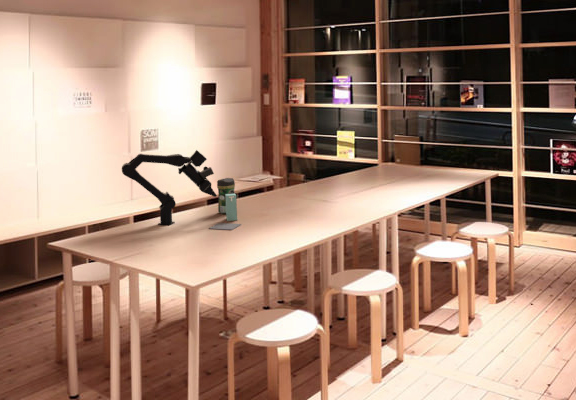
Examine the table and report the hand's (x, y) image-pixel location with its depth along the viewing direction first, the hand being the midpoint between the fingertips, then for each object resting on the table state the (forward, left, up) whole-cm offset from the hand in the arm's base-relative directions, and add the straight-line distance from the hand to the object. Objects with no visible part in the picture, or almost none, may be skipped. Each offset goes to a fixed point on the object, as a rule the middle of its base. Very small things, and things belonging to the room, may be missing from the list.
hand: (214, 194), depth 357 cm
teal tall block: (+3, -7, -13) cm, 16 cm away
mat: (-13, -11, -13) cm, 22 cm away
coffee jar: (+20, +2, -13) cm, 24 cm away
